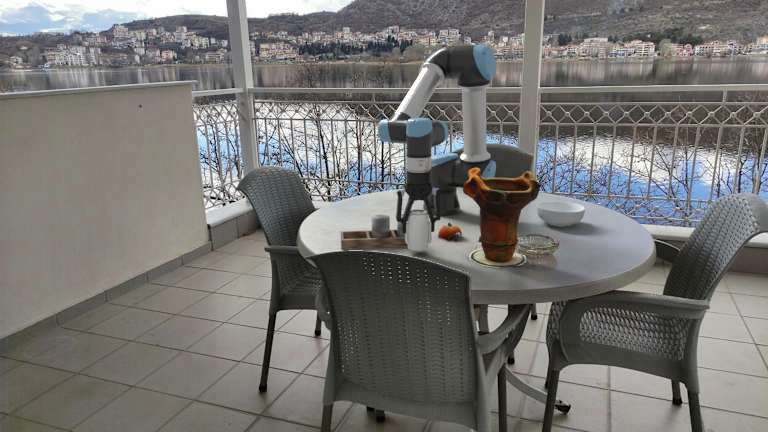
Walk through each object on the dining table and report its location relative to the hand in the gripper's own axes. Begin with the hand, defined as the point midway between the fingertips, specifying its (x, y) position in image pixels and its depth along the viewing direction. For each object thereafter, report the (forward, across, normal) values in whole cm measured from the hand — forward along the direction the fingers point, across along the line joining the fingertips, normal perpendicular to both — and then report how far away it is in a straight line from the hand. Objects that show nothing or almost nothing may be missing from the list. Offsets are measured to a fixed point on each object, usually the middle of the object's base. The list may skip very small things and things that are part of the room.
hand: (418, 241), depth 166 cm
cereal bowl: (+5, +58, +26) cm, 63 cm away
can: (+2, 0, 0) cm, 2 cm away
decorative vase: (+4, +24, -6) cm, 25 cm away
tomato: (+5, +14, +15) cm, 21 cm away
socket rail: (+4, -11, +12) cm, 16 cm away
